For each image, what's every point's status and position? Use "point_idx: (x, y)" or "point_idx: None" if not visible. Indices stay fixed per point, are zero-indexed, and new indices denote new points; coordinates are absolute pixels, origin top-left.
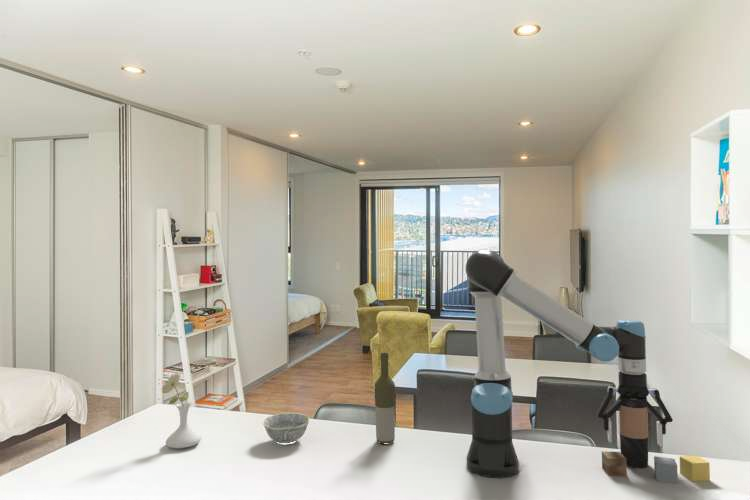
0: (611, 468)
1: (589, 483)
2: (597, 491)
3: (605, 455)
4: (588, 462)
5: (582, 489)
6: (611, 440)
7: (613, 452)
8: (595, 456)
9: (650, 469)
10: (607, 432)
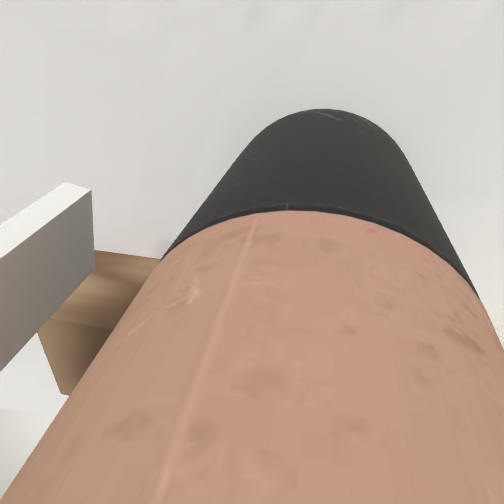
0: None
1: (31, 365)
2: (55, 408)
3: (50, 366)
4: (24, 170)
5: (9, 392)
6: (79, 279)
7: (104, 338)
8: (73, 56)
9: None
10: (7, 227)
